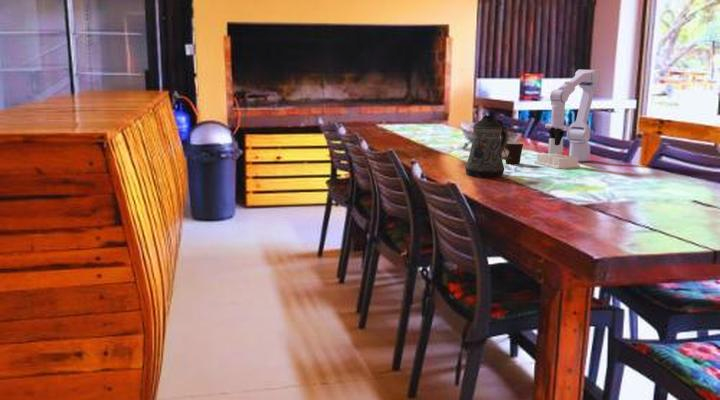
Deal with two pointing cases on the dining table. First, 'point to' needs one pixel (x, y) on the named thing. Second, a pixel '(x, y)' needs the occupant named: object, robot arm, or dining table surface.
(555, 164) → the dish rack
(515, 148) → the coffee mug
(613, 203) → the dining table surface
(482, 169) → the beer stein
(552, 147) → the plate tile
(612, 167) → the dining table surface
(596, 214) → the dining table surface
